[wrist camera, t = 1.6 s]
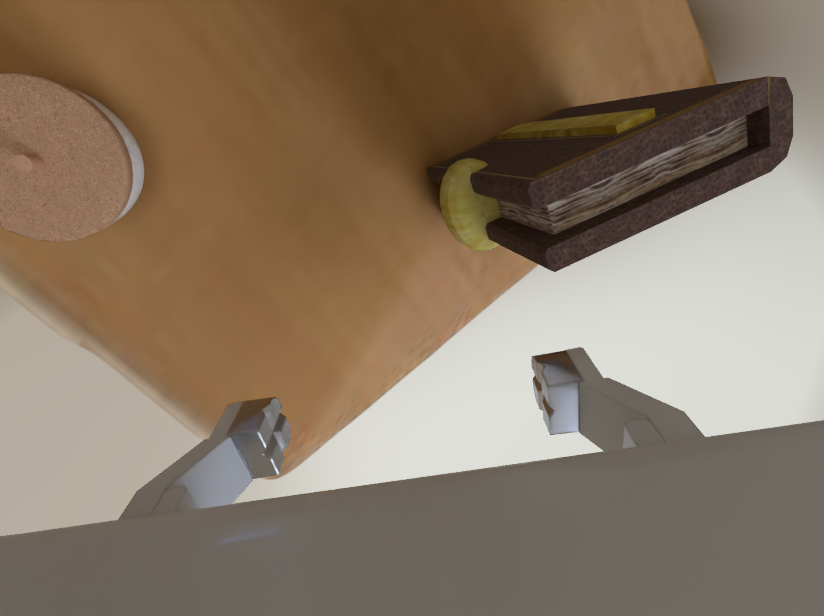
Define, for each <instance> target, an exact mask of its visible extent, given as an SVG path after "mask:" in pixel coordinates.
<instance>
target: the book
mask: <svg viewBox="0 0 824 616" xmlns="http://www.w3.org/2000/svg"><path fill="white" fill-rule="evenodd" d="M496 135H497V137H496V138H494V139H491V140H489V141H487V142H484V143H482V144H480V145H478V146H475V147H473V148H471V149H468V150H466V151H464V152H462V153H459V154H457V155H455V156H453V157H450V158H448V159H446V160H443V161H441V162H439V163H437V164H434V165H432V166H430V167H428V169H427V173H428V175H429V178H430V180H431V181H432V182H434V183H438V184H441V188H440V209H441V212H442V215H443V219H444V221H445V223H446V225H447V227H448V229H449V231H450V232H451V233H452V234H453V236H454V237H455V238H456V239H457V240H458V241H459V242H461V243H462V244H464V245H465V246H467V247H469V248H470V249H473V250H477V251H486V250H490V249H494V248H495V247H497V246H498V245H501V246H503V247H505V248H507V249H509V250H511V251H513V252H515V253H517V254H519V255H521V256H523V257H525V258H527V259H529V260H531V261H533V262H535V263H537V264H539V265H541V266H543V267H545V268H547V269H549V270H551V271H554V272H556V271H558V270H560V269H562V268H564V267H567V266H569V265H570V264H573V263H575V262H577V261H579V260H582V259H584V258H586V257H588V256H590V255H592V254H594V253H596V252H599V251H601V250H603V249H605V248H607V247H609V246H612V245H614V244H616V243H618V242H620V241H623V240H625V239H627V238H629V237H631V236H633V235H635V234H638V233H640V232H642V231H644V230H646V229H648V228H650V227H653V226H655V225H657V224H659V223H661V222H663V221H666V220H668V219H670V218H672V217H674V216H676V215H678V214H681V213H682V212H685V211H687V210H689V209H691V208H693V207H696V206H698V205H700V204H702V203H704V202H706V201H709V200H711V199H713V198H715V197H717V196H719V195H721V194H724V193H726V192H728V191H730V190H732V189H734V188H737V187H739V186H741V185H743V184H745V183H747V182H749V181H751V180H754V179H756V178H758V177H760V176H762V175H764V174H767V173H769V172H771V171H772V170H773V169H774V168H775V167H776V166H777V165H778V164H779V163H781V162H782V161H783V160H784V159H785V158H786V157H787V154H788V151H789V147H790V144H791V140H792V137H793V95H792V92H791V90H790V88H789V85H788V82H787V80H786V78H784V77H762V78H756V79H749V80H743V81H737V82H730V83H724V84H717V85H711V86H705V87H698V88H692V89H685V90H679V91H673V92H666V93H660V94H654V95H647V96H641V97H635V98H628V99H622V100H615V101H609V102H603V103H596V104H590V105H584V106H577V107H571V108H564V109H560V110H557V111H555V112H553V113H551V114H548V115H546V116H544V117H542V118H539V119H537V120H535V121H532V122H530V123H522V124H519V125H516V126H514V127H512V128H509V129H507V130H505V131H503V132H500V133H498V134H496Z"/></svg>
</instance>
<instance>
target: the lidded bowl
mask: <svg viewBox="0 0 824 616" xmlns="http://www.w3.org/2000/svg"><path fill="white" fill-rule="evenodd" d="M143 182H144V163H143V158H142V155H141V151H140V149H139V146H138V144H137V142H136V140H135V138H134V137H133V135H132V133H131V132H130V130H129V129H128V128H127V127H126V125H125V124H124V123H123V122H122V121H121V120H120V119H119V118H118V117H117V116H116V115H115V114H114V113H113V112H112V111H111V110H109V109H108V108H107V107H105V106H104V105H103V104H101V103H100V102H98V101H96V100H95V99H93V98H91V97H89V96H88V95H86V94H84V93H82V92H80V91H78V90H75V89H73V88H70V87H68V86H65V85H63V84H61V83H58V82H56V81H53V80H50V79H47V78H43V77H39V76H35V75H31V74H24V73H15V72H14V73H0V226H1V227H2V228H4V229H7V230H9V231H11V232H14V233H16V234H18V235H22V236H25V237H28V238H32V239H37V240H43V241H58V242H61V241H71V240H77V239H81V238H85V237H88V236H90V235H92V234H95V233H97V232H99V231H101V230H103V229H104V228H106V227H107V226H109V225H111V224H113V223H114V222H116V221H117V220H119V219H120V218H121V217H123V216H124V215H125V214H126V213H127V212H128V211H129V210H130V209H131V208H132V206H133V205H134V204H135V202H136V201H137V199H138V197H139V194H140V192H141V190H142V186H143Z"/></svg>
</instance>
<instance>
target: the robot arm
mask: <svg viewBox="0 0 824 616" xmlns="http://www.w3.org/2000/svg"><path fill="white" fill-rule="evenodd" d="M532 368H533V371H534V373H535V376H534V378H533V386H534V392H535V397H536V401H537V404H538V406H539V409H541V410H543V417H544V421H545V424H546V426H547V428H548V431H549V433H550V435H555V434H563V433H570V432H580V433H581V434H582V435H583V436H585V437H586V438H587V439H589V440H590V441H591V442H593V443H594V444H595V445H597V446H598V447H599V448H601V449H602V450H603V451H604V452H597V453H591V454H583V455H576V456H569V457H562V458H555V459H547V460H540V461H533V462H527V463H519V464H512V465H505V466H498V467H491V468H484V469H477V470H470V471H463V472H456V473H449V474H441V475H434V476H427V477H420V478H414V479H406V480H399V481H392V482H385V483H378V484H370V485H364V486H357V487H349V488H342V489H336V490H328V491H321V492H314V493H307V494H300V495H292V496H286V497H278V498H271V499H264V500H257V501H250V502H243V503H236V504H232V503H233V502H234V501H235V500H236V499H237V498H238V497H239V495H240V494H241V493H242V492H243V491H244V490H245V489H246V487H247V486H248V485H249V484H250V483H251V482H252V481H253V480H252V479H255V478H261V477H267V476H273V475H278V474H279V472H280V469H281V466H282V463H283V460H284V456H283V453H282V452H283V451H284V450H285V449H286V448H287V447H288V444H289V441H290V427H289V422H288V420H287V418H286V417H285V416H284V415H282V414H281V413H280V410H281V408H282V406H281V404H280V402H279V400H278V398H276V397H271V398H264V399H256V400H249V401H242V402H236V403H231V404H229V405H228V406H227V407H226V409H225V411H224V413H223V415H222V416H221V418H220V420H219V422H218V424H217V425H216V427H215V429H214V431H213V433H212V434H211V436H210V438H209V439H206V440H203V441H202V442H201V443H200V444H198V445H197V446H196V447H194V448H193V449H192V450H190V451H189V452H188V453H186V454H185V455H184V456H183V457H181V458H180V459H179V460H177V461H176V462H175V463H173V464H172V465H171V466H169V467H168V468H167V469H165V470H164V471H163V472H162V473H160V474H159V475H158V476H156V477H155V478H154V479H153V480H151V481H150V482H148V483H147V484H146V485H144V486H143V487H142V488H141V489H139V490H138V491H137V492H136V493H135V495H134V496H133V498H132V500H131V501H130V503H129V504H128V506H127V507H126V509H125V510H124V512H123V513H122V515H121V516H120V518H119V519H118V520H116V521H108V522H101V523H94V524H87V525H80V526H73V527H66V528H59V529H52V530H44V531H37V532H30V533H24V534H15V535H7V536H0V616H824V420H823V421H815V422H809V423H802V424H795V425H788V426H782V427H774V428H767V429H760V430H753V431H746V432H739V433H732V434H725V435H718V436H711V437H705V436H704V435H703V434H702V433H701V432H700V430H699V429H698V428H697V427H696V426H695V424H694V423H693V422H692V421H691V420H690V418H689V417H688V416H687V415H686V414H685V412H683V411H681V410H679V409H677V408H674V407H672V406H670V405H668V404H666V403H663V402H661V401H659V400H656V399H654V398H652V397H650V396H648V395H645V394H643V393H641V392H639V391H637V390H634V389H632V388H630V387H628V386H626V385H623V384H621V383H619V382H617V381H614V380H612V379H610V378H603V377H602V375H601V374H600V372H599V371H598V370H597V368H596V367H595V365H594V364H593V362H592V361H591V359H590V358H589V356H588V355H587V354H586V352H585V350H584V349H583V348H581V347H579V348H574V349H569V350H565V351H560V352H555V353H549V354H543V355H537V356H532Z"/></svg>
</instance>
